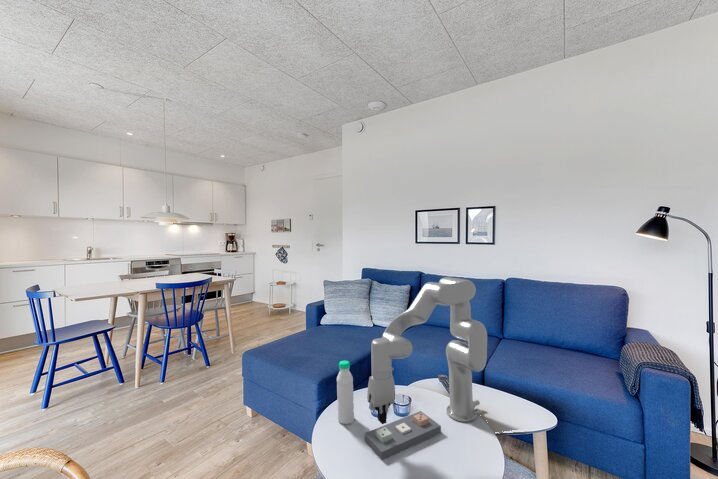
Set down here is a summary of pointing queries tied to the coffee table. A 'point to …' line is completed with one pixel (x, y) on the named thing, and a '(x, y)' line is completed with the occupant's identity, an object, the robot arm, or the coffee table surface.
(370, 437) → the key board
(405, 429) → the one pip key
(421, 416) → the three pip key
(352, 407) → the water bottle
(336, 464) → the coffee table surface
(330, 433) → the coffee table surface
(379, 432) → the two pip key
